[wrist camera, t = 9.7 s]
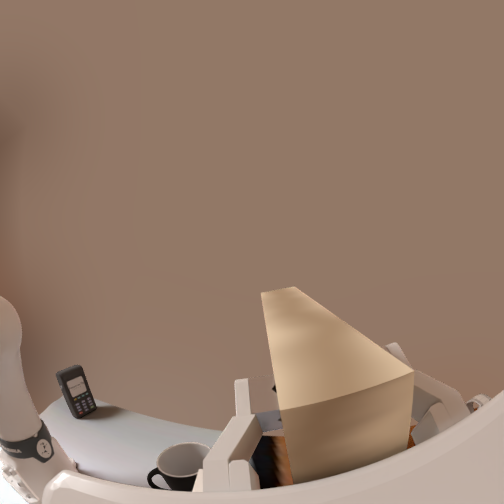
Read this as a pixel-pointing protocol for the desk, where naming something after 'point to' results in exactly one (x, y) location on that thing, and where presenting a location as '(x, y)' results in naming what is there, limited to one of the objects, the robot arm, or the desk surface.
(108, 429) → the desk surface
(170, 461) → the mug
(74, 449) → the desk surface
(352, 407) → the batten
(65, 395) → the card reader
